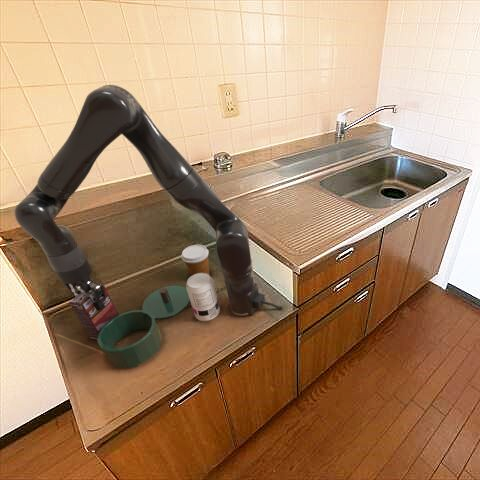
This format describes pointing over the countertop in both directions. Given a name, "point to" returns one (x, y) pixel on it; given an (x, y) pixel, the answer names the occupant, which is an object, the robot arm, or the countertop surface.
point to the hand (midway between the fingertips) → (94, 306)
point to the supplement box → (93, 313)
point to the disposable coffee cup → (196, 259)
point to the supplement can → (203, 296)
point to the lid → (166, 301)
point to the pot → (138, 350)
